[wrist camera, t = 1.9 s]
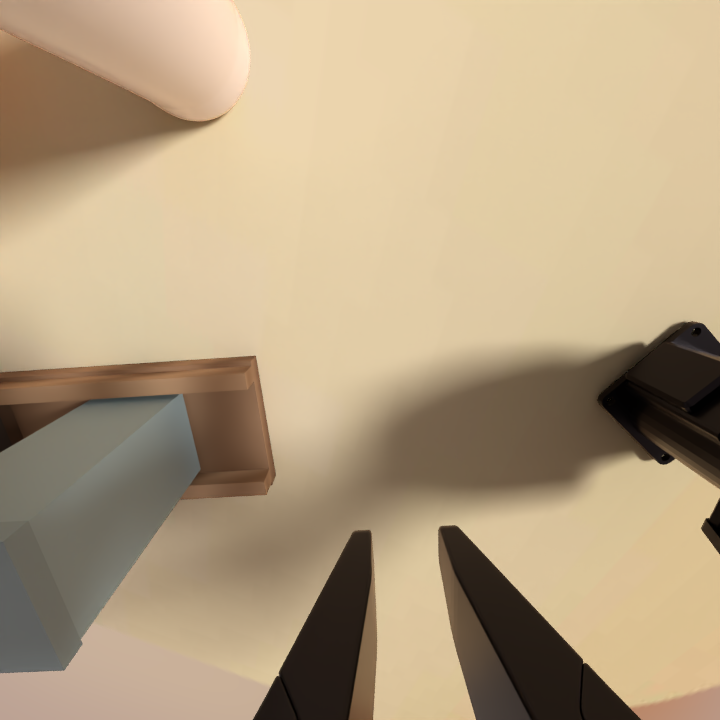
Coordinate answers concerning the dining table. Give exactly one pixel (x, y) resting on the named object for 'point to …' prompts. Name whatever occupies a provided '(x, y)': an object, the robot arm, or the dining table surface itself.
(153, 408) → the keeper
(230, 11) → the drinking glass
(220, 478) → the track
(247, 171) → the dining table surface
